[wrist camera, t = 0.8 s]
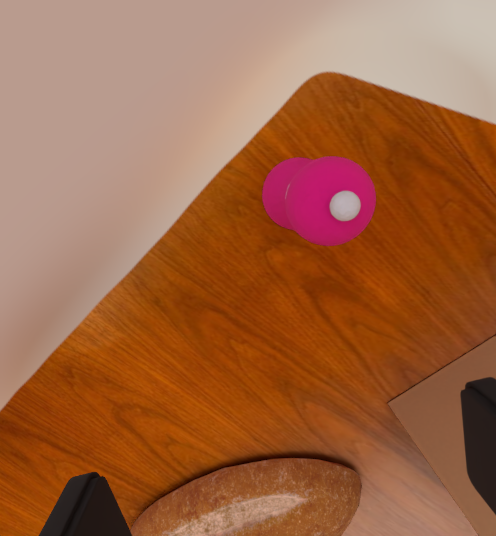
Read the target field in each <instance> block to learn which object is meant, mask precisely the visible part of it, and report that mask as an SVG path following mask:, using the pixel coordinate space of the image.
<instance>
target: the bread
mask: <svg viewBox="0 0 496 536" xmlns="http://www.w3.org/2000/svg"><path fill="white" fill-rule="evenodd" d="M361 488H362V484H361V481H360V477H359V474H357V473H356V472H355V471H353V470H352V469H350V468H348V467H346V466H344V465H342V464H338V463H333V462H328V461H323V460H318V459H303V458H282V459H269V460H263V461H258V462H252V463H247V464H242V465H237V466H232V467H227V468H222V469H220V470H217V471H215V472H213V473H210V474H208V475H205V476H203V477H201V478H198V479H196V480H193V481H191V482H189V483H187V484H185V485H183V486H181V487H179V488H178V489H176V490H174V491H173V492H171V493H169V494H167V495H166V496H164V497H162V498H161V499H159V500H157V501H156V502H155V503H153V504H152V505H151V506H150V507H148V508H147V509H146V510H145V511H144V512H143V513H142V514H141V515H140V517H139V518H138V519H137V520H136V521H135V523H134V524H133V526H132V528H131V530H130V532H131V534H132V536H341V535H342V534H343V532H344V531H345V530H346V528H347V527H348V526H349V524H350V522H351V520H352V518H353V516H354V514H355V512H356V510H357V508H358V506H359V501H360V494H361Z"/></svg>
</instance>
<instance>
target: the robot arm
mask: <svg viewBox="0 0 496 536" xmlns="http://www.w3.org/2000/svg"><path fill="white" fill-rule="evenodd" d="M460 397H461V409H462V420H463V432H464V444H465V456H466V467H467V474H468V477H469V479H470V481H471V483H472V485H473V486H474V488H475V489H476V491H477V492H478V493H479V494H480V496H481V497H482V498H483V499H484V501H485V502H486V503H487V505H488V506H489V507H490V508H491V510H492V511H493V512H494V514H495V515H496V379H495V378H493V377H487V378H482V379H478V380H474V381H470V382H467V383H466V385H465V389H464V390H461V392H460ZM39 536H132V534H131V532H130V530H129V528H128V525H127V523H126V521H125V519H124V517H123V515H122V512H121V510H120V508H119V506H118V504H117V502H116V500H115V497H114V495H113V493H112V491H111V489H110V487H109V484H108V482H107V480H106V479H105V477H103V476H102V477H100V476H99V474H98V473H97V472H92V473H88V474H83V475H79V476H75V477H72V478H71V479H70V480H69V481H68V483H67V485H66V486H65V488H64V490H63V492H62V494H61V496H60V497H59V499H58V501H57V503H56V505H55V507H54V509H53V510H52V512H51V514H50V516H49V518H48V520H47V522H46V523H45V525H44V527H43V529H42V531H41V533H40V535H39Z"/></svg>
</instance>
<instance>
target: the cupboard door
mask: <svg viewBox="0 0 496 536" xmlns="http://www.w3.org/2000/svg"><path fill="white" fill-rule="evenodd" d="M487 377H493V378H495V379H496V335H495V336H494V337H492V338H490V339H489V340H487V341H486V342H484V343H483V344H481V345H479V346H478V347H476V348H475V349H473V350H471V351H470V352H468V353H467V354H465V355H463V356H462V357H460V358H459V359H457V360H455V361H454V362H452V363H451V364H449V365H447V366H446V367H444V368H443V369H441V370H440V371H438V372H436V373H435V374H433V375H432V376H430V377H428V378H427V379H425V380H424V381H422V382H420V383H419V384H417V385H416V386H414V387H412V388H411V389H409V390H408V391H406V392H404V393H403V394H401V395H400V396H398V397H397V398H395V399H393V400H392V401H390V402H389V403H388V405H389V407H390V408H391V409H392V411H393V412H394V414H395V415H396V417H397V418H398V420H399V421H400V422H401V424H402V425H403V427H404V428H405V430H406V431H407V433H408V434H409V436H410V437H411V438H412V440H413V441H414V443H415V444H416V446H417V447H418V449H419V450H420V451H421V453H422V454H423V456H424V457H425V459H426V460H427V462H428V463H429V464H430V466H431V467H432V469H433V470H434V472H435V473H436V475H437V476H438V477H439V479H440V480H441V482H442V483H443V485H444V486H445V488H446V489H447V490H448V492H449V493H450V495H451V496H452V498H453V499H454V501H455V502H456V504H457V505H458V506H459V508H460V509H461V511H462V512H463V514H464V515H465V517H466V518H467V519H468V521H469V522H470V524H471V525H472V527H473V528H474V530H475V531H476V532H477V534H478V535H479V536H496V515H495V514H494V512H493V511H492V510H491V508H490V507H489V506H488V505H487V503H486V502H485V501H484V499H483V498H482V497H481V496H480V494H479V493H478V492H477V491H476V489H475V488H474V486H473V485H472V483H471V481H470V479H469V477H468V474H467V467H466V456H465V444H464V432H463V420H462V409H461V397H460V392H461V390H464V389H465V385H466V383H467V382H470V381H474V380H478V379H482V378H487Z"/></svg>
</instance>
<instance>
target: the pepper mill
mask: <svg viewBox="0 0 496 536" xmlns="http://www.w3.org/2000/svg"><path fill="white" fill-rule="evenodd" d="M262 198H263V204H264V207H265V210H266V212H267V214H268V215H269V217H270V218H271V219H272V220H273V221H274V222H275V223H277V224H278V225H280V226H282V227H284V228H287V229H291V230H295V231H296V232H297V233H298V234H299V235H300V236H301V237H303V238H304V239H306V240H308V241H310V242H312V243H315V244H318V245H324V246H335V245H339V244H343V243H345V242H348V241H350V240H352V239H353V238H355V237H356V236H358V235H359V234H360V233H361V232H362V231H363V230H364V229H365V228H366V226H367V225H368V224H369V222H370V220H371V218H372V215H373V213H374V210H375V204H376V193H375V189H374V185H373V182H372V180H371V179H370V177H369V175H368V174H367V173H366V171H365V170H364V169H363V168H362V167H361V166H359V165H358V164H357V163H355V162H353V161H352V160H349V159H346V158H342V157H334V156H329V157H322V158H319V159H316V160H311V159H308V158H291V159H287V160H285V161H283V162H281V163H279V164H278V165H277V166H275V167H274V168H273V169H272V170H271V171H270V173H269V174H268V176H267V178H266V180H265V182H264V186H263V192H262Z"/></svg>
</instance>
